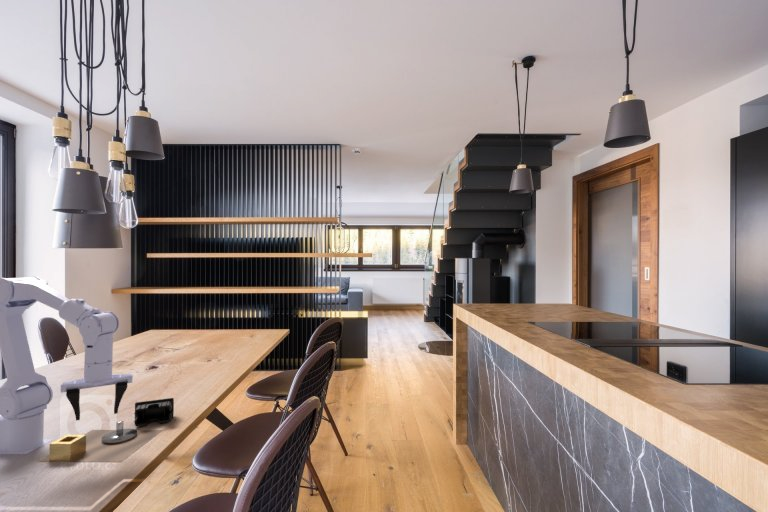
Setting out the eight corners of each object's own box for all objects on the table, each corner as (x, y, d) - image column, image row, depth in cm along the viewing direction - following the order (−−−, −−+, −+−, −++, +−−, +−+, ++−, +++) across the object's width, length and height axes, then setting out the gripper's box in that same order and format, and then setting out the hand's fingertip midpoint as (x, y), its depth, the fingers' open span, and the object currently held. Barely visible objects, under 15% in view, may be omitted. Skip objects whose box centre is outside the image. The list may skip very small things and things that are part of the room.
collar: (49, 460, 95) (49, 443, 95) (65, 450, 100) (66, 434, 100) (70, 460, 95) (70, 443, 95) (85, 450, 100) (86, 434, 100)
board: (36, 464, 94) (36, 461, 94) (92, 431, 112) (92, 429, 112) (121, 464, 94) (121, 461, 94) (163, 432, 112) (163, 429, 112)
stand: (94, 444, 103) (94, 428, 103) (114, 431, 111) (114, 416, 111) (124, 444, 103) (125, 428, 103) (143, 431, 111) (143, 416, 111)
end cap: (173, 416, 123) (173, 395, 124) (172, 425, 117) (172, 402, 117) (136, 422, 119) (136, 399, 119) (132, 431, 113) (133, 407, 113)
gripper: (60, 369, 92) (58, 427, 92) (133, 360, 101) (132, 414, 100) (62, 362, 98) (61, 417, 98) (132, 355, 106) (130, 406, 106)
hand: (97, 415), depth 99 cm, fingers open, 7 cm apart
